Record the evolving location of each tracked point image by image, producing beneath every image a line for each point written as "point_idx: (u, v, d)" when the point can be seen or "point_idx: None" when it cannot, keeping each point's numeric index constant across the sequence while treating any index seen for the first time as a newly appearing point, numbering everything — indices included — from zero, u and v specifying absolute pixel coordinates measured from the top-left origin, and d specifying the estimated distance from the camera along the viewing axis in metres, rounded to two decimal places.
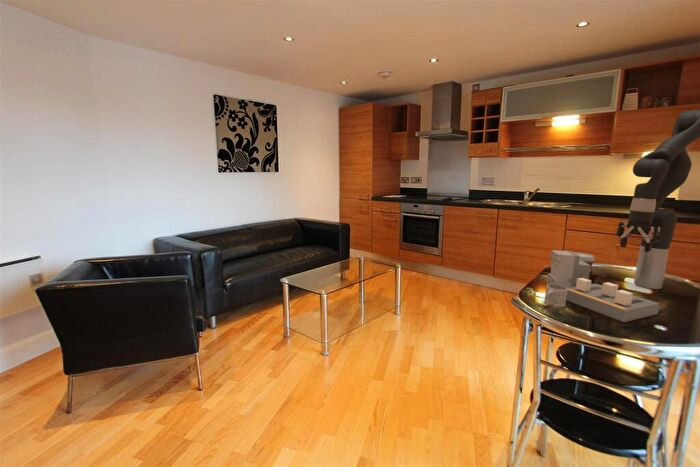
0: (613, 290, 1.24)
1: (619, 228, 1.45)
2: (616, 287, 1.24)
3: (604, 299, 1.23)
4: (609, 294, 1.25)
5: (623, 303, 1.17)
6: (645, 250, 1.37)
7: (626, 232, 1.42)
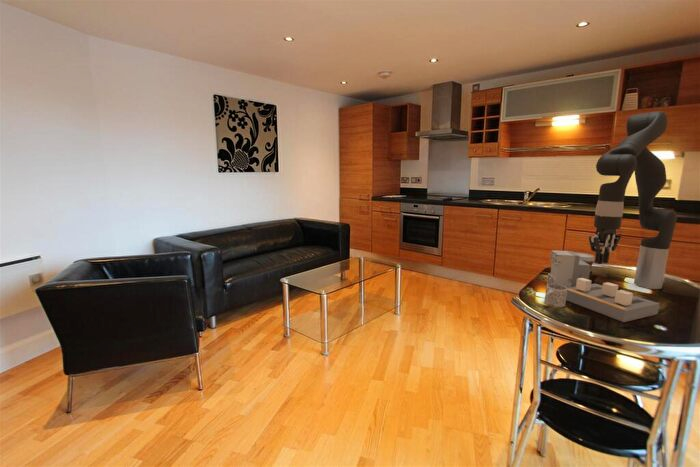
0: (613, 290, 1.24)
1: (598, 244, 1.17)
2: (616, 287, 1.24)
3: (604, 299, 1.23)
4: (609, 294, 1.25)
5: (623, 303, 1.17)
6: (607, 261, 1.21)
7: (606, 245, 1.18)
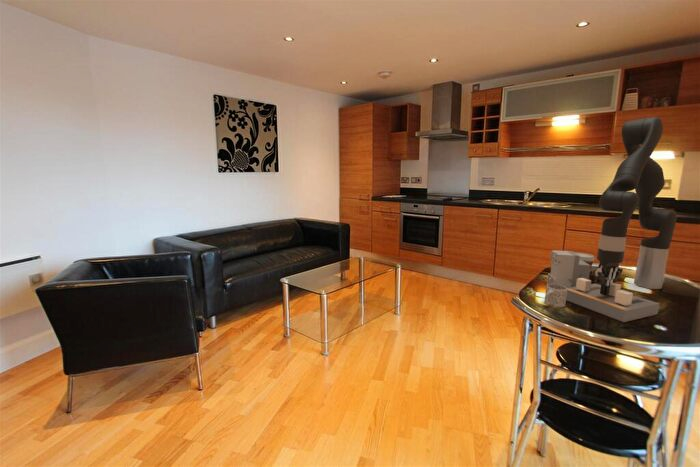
0: (616, 290, 1.25)
1: (602, 278, 1.21)
2: (619, 287, 1.25)
3: (604, 299, 1.23)
4: (612, 293, 1.25)
5: (623, 303, 1.17)
6: (608, 293, 1.24)
7: (610, 277, 1.22)
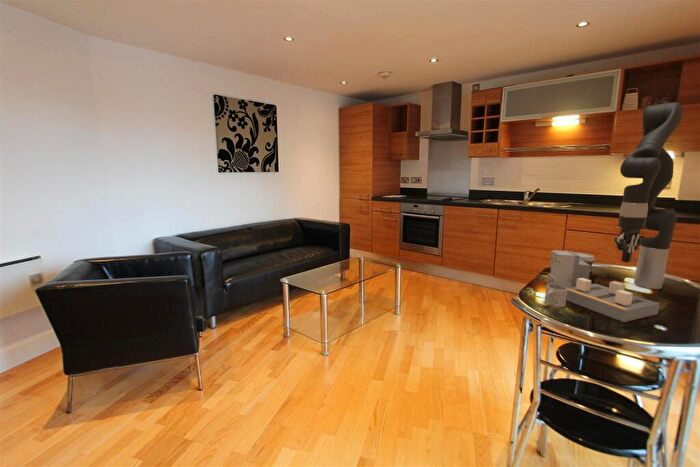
0: (620, 289, 1.25)
1: (624, 244, 1.23)
2: (623, 286, 1.26)
3: (604, 299, 1.23)
4: None
5: (623, 303, 1.17)
6: (629, 260, 1.26)
7: (631, 244, 1.23)
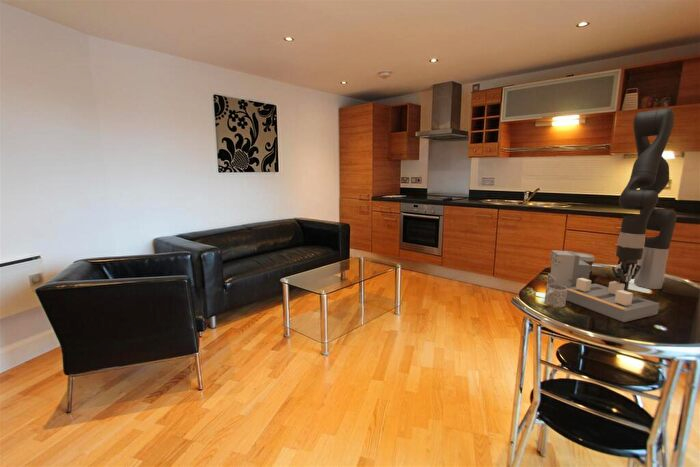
0: (619, 289, 1.25)
1: (622, 274, 1.25)
2: (622, 286, 1.26)
3: (604, 299, 1.23)
4: (615, 293, 1.26)
5: (623, 303, 1.17)
6: (626, 289, 1.28)
7: (629, 273, 1.25)
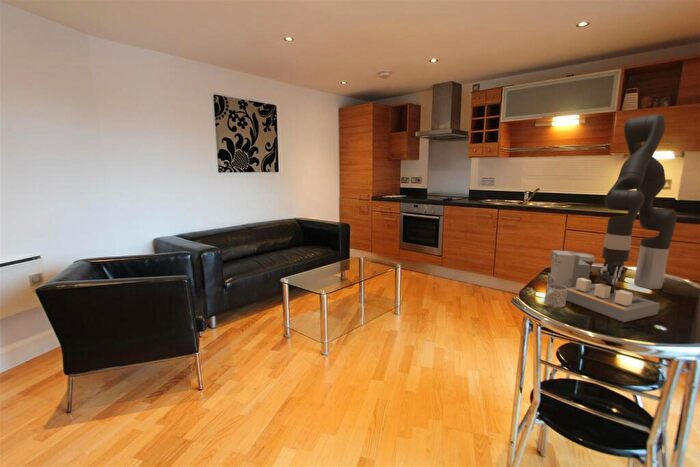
0: (606, 291, 1.23)
1: (608, 276, 1.22)
2: (608, 288, 1.23)
3: (604, 299, 1.23)
4: (601, 295, 1.23)
5: (623, 303, 1.17)
6: (613, 292, 1.25)
7: (615, 276, 1.23)
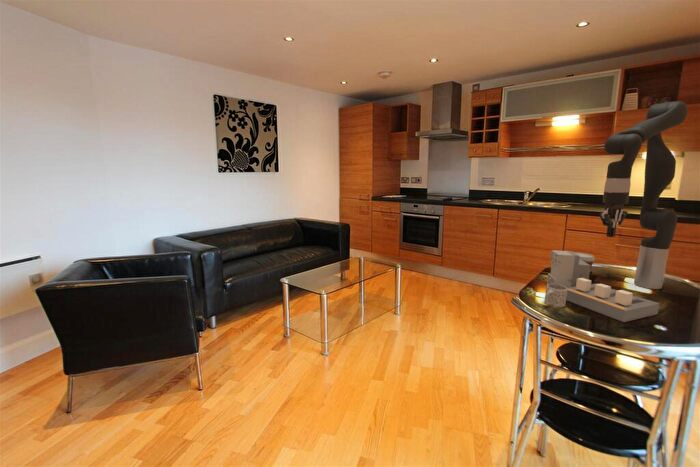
0: (606, 291, 1.23)
1: (609, 219, 1.27)
2: (608, 288, 1.23)
3: (604, 299, 1.23)
4: (601, 295, 1.23)
5: (623, 303, 1.17)
6: (614, 235, 1.30)
7: (616, 219, 1.27)
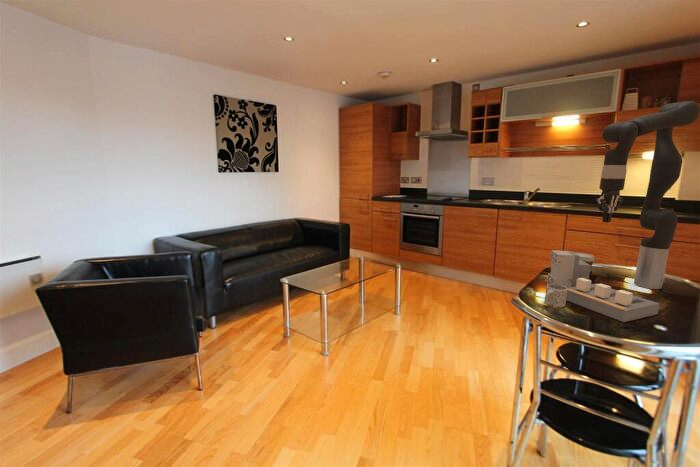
0: (606, 291, 1.23)
1: (604, 204, 1.31)
2: (608, 288, 1.23)
3: (604, 299, 1.23)
4: (601, 295, 1.23)
5: (623, 303, 1.17)
6: (609, 221, 1.34)
7: (611, 204, 1.32)
